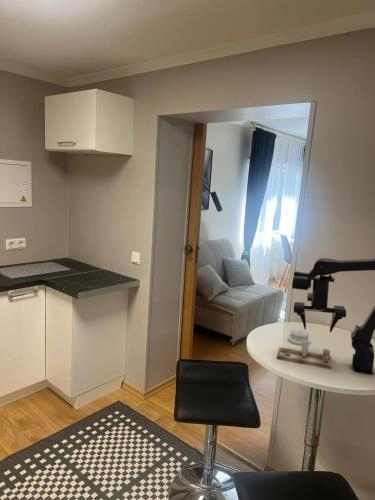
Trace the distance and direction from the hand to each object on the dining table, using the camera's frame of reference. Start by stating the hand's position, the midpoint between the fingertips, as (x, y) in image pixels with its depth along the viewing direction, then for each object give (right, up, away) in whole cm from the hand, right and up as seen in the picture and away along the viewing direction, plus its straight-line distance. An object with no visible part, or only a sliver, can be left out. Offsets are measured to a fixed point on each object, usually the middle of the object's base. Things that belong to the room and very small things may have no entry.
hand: (317, 330), depth 144 cm
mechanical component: (-1, -9, +19) cm, 21 cm away
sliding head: (-5, -10, +2) cm, 11 cm away
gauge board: (-5, -11, +2) cm, 13 cm away
